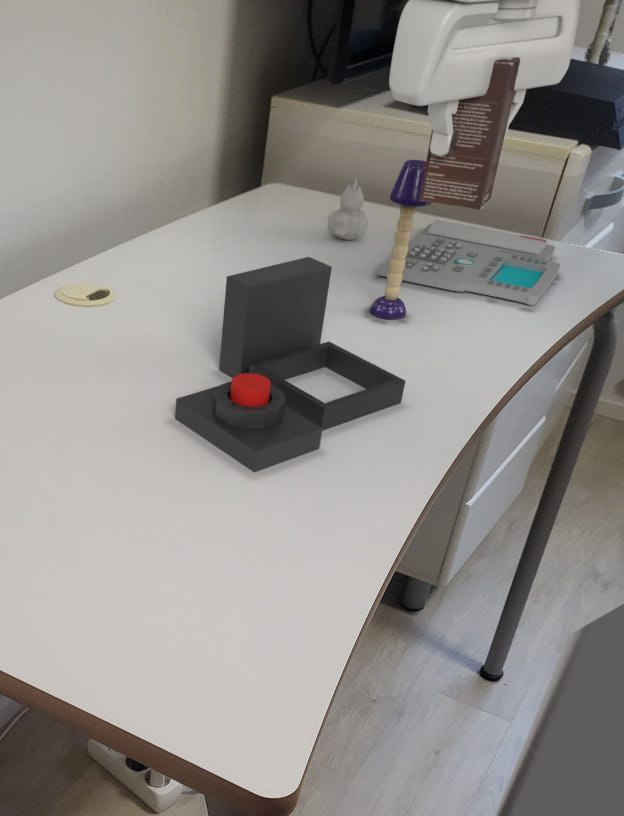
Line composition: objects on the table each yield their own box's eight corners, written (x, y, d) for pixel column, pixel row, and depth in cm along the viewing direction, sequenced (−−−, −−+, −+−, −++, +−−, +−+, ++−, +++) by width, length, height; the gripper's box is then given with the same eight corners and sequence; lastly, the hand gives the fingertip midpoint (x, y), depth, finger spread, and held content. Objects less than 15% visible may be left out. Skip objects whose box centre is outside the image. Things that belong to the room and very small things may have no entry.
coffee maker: (401, 403, 98) (422, 306, 92) (320, 431, 93) (337, 331, 87) (296, 347, 108) (308, 256, 101) (218, 370, 103) (226, 276, 96)
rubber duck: (371, 237, 137) (382, 176, 132) (353, 250, 133) (363, 188, 128) (336, 229, 139) (345, 169, 134) (317, 241, 135) (325, 180, 130)
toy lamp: (365, 304, 118) (392, 156, 107) (403, 304, 118) (433, 157, 108) (374, 319, 115) (402, 168, 104) (412, 320, 115) (445, 169, 104)
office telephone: (434, 211, 139) (577, 237, 132) (430, 230, 141) (571, 257, 134) (380, 255, 124) (539, 288, 116) (376, 276, 125) (532, 310, 118)
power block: (319, 449, 91) (325, 410, 88) (254, 473, 87) (258, 433, 84) (238, 399, 98) (241, 361, 95) (174, 419, 94) (176, 380, 92)
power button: (276, 402, 90) (279, 384, 89) (246, 411, 88) (248, 394, 87) (251, 387, 92) (253, 370, 91) (222, 396, 90) (223, 378, 89)
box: (491, 199, 92) (525, 54, 85) (479, 212, 89) (513, 63, 82) (429, 189, 95) (456, 47, 87) (416, 202, 92) (443, 55, 84)
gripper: (553, -44, 87) (511, 127, 96) (393, -33, 77) (364, 155, 86) (614, -36, 83) (565, 141, 92) (454, -24, 73) (417, 172, 82)
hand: (466, 148), depth 89 cm, fingers closed on box, 5 cm apart
